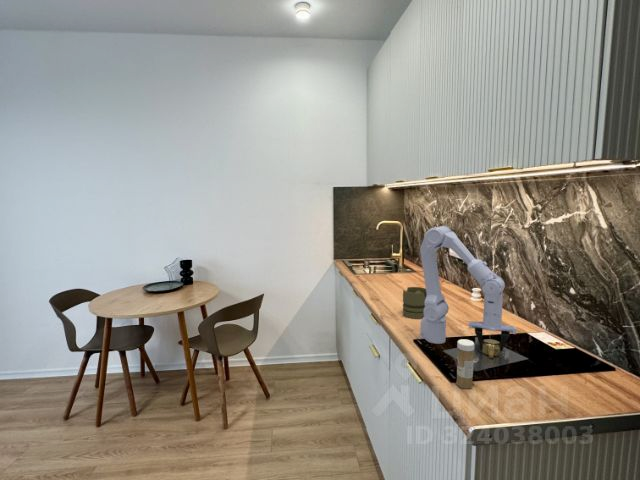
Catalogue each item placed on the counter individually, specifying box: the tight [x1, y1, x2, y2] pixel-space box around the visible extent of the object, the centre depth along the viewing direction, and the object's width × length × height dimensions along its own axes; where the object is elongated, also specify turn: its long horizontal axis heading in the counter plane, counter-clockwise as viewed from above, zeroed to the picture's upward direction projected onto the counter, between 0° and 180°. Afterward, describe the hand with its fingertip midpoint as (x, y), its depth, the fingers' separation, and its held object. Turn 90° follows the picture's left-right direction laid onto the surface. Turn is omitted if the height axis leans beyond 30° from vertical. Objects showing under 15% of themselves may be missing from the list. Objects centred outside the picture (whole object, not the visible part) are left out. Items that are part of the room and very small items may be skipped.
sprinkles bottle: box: [456, 338, 475, 389], centre depth 107 cm, size 5×5×13 cm
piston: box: [402, 286, 427, 320], centre depth 169 cm, size 11×12×11 cm
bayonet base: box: [442, 336, 529, 372], centre depth 125 cm, size 16×22×4 cm
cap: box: [482, 338, 501, 358], centre depth 126 cm, size 9×6×4 cm, turn 155°
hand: (491, 350), depth 126 cm, fingers closed on cap, 5 cm apart
